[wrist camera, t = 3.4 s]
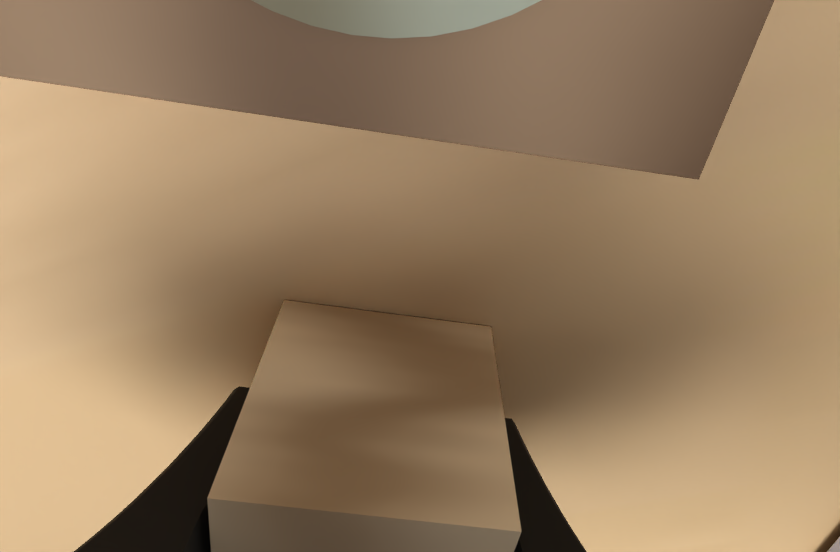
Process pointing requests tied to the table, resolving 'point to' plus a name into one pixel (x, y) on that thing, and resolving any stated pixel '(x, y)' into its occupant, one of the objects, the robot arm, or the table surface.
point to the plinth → (419, 66)
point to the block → (368, 440)
